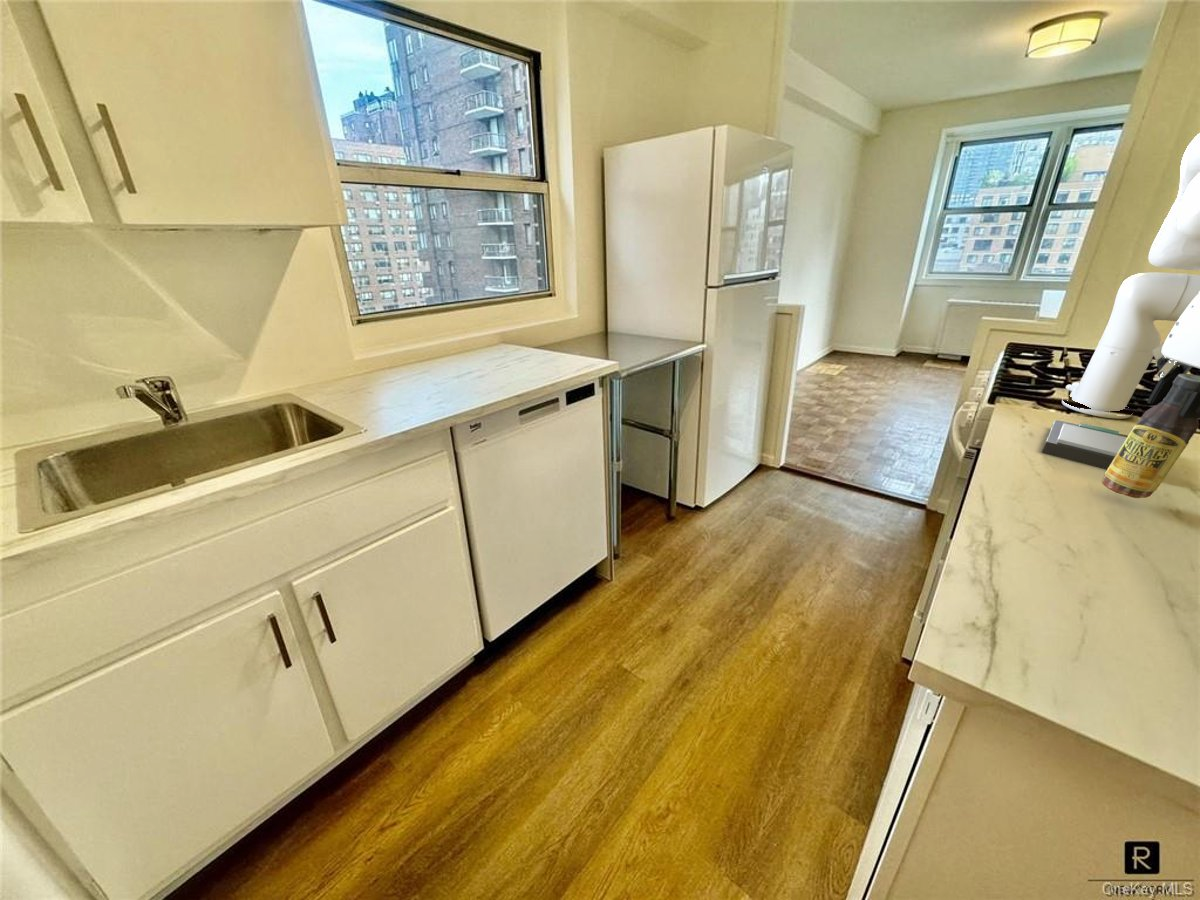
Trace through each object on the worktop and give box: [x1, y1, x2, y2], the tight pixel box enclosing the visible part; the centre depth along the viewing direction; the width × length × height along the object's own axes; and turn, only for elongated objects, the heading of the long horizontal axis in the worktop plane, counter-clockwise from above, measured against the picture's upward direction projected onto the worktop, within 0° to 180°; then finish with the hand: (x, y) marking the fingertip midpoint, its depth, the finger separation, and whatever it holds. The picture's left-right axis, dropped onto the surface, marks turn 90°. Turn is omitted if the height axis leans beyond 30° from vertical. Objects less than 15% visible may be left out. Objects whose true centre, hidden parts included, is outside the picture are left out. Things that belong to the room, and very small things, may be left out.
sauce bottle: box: [1101, 373, 1200, 499], centre depth 76 cm, size 6×6×20 cm
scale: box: [1041, 419, 1129, 470], centre depth 97 cm, size 16×14×3 cm
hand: (1175, 409), depth 73 cm, fingers closed on sauce bottle, 4 cm apart
